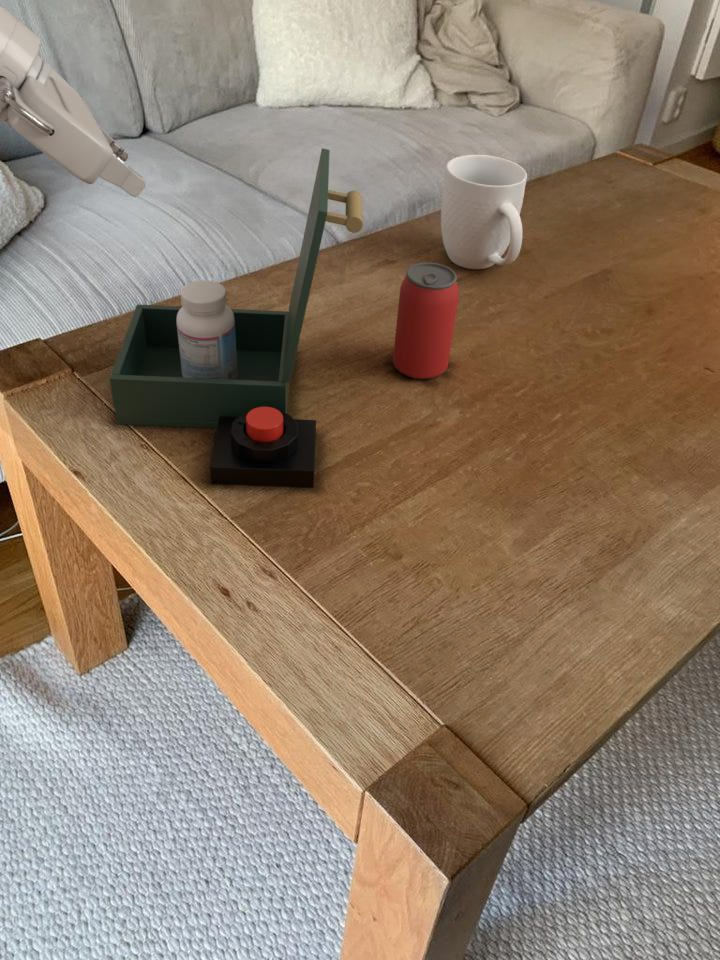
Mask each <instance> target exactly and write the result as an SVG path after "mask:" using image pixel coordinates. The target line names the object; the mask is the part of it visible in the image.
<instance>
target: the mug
mask: <svg viewBox="0 0 720 960" xmlns="http://www.w3.org/2000/svg"><path fill="white" fill-rule="evenodd" d="M527 179H528V173H527V171H526V170H525V169H524V168H523V167H522V166H521V165H520V164H518V163H516V162H514V161H511V160H509V159H506V158H502V157H499V156H495V155H488V154H466V155H460V156H457V157H454V158H452V159H450V160H449V161H448V162H447V163H446V166H445V173H444V180H443V186H442V195H441V201H440V202H441V204H440V207H441V208H440V229H441V238H442V243H443V246H444V249H445V252H446V254H447V257H448V258H449V260H450V261H451V262H452V263H453V264H454V265H456V266H458V267H461V268H464V269H468V270H485V269H488V268H490V267H492V266H494V265H498V266H507V265H510V264H512V263H513V262H515V261H516V260H517V258H518V256H519V255H520V252H521V249H522V244H523V224H522V219H521V216H520V214H521V211H522V207H523V203H524V202H523V201H524V197H525V191H526V186H527ZM507 249H508V251H507V253H506V255H505V257H504V258H503V255H504V254H505V252H506V250H507Z"/></svg>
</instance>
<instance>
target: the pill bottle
mask: <svg viewBox="0 0 720 960" xmlns="http://www.w3.org/2000/svg"><path fill="white" fill-rule="evenodd" d="M227 298H228V297H227V289H226V287H225V286H224V285H223V284H221V283H220V282H218V281H214V280H209V279H201V280H200V279H199V280H193V281H190V282H188V283H186V284H185V285H184V286H182V288H181V289H180V303H181V307H182V308H181V309H180V310H179V312H178V314H177V319H176V321H177V332H178V341H179V350H180V359H181V368H182V377H183V378H207V379H231V380H237V379H238V368H237V351H236V334H235V320H234V314H233V312H232V310H231V309H232V308H230V306H229V305H228V304H227V302H228V299H227Z"/></svg>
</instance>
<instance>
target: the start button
mask: <svg viewBox="0 0 720 960" xmlns="http://www.w3.org/2000/svg"><path fill="white" fill-rule="evenodd" d="M246 432H247V435H248V437H249V438H250V439H252V440H255V441H257V442H271V441H274V440H278V439H279V438H280V437H281V436H282V434H283V415H282V414H281V412H280V411H278V410H277V409H275V408H272V407H258V408H255V409H252V410H251V411H249V412H248V414H247V416H246Z"/></svg>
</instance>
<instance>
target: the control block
mask: <svg viewBox="0 0 720 960" xmlns="http://www.w3.org/2000/svg"><path fill="white" fill-rule="evenodd" d="M278 411H279V410H278ZM248 412H249V411H248ZM248 412H245V413H242V414H241V415H240V416H239V417H226V416H219V420H218V426H217V428H216V431H215V437H214V442H213V447H212V453H211V459H210V463H209V464H210V465H209V474H210V484H211V485H235V486H258V487H259V486H261V487H263V486H264V487H286V488H287V487H289V488H290V487H291V488H314V487H315V466H316V465H315V464H316V444H317V443H316V441H317V440H316V439H317V420H316V419H299V418H293V416H292V415H290V414H289V413H288V412H287V413H284V412H282V411H280V412H281V414H282V415H283V434H282V436H281V437H280V438H279V439H278V440H274V441H271V442H257V441H255V440H252V439H250V438H249V437H248V435H247V432H246V416H247V414H248Z"/></svg>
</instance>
